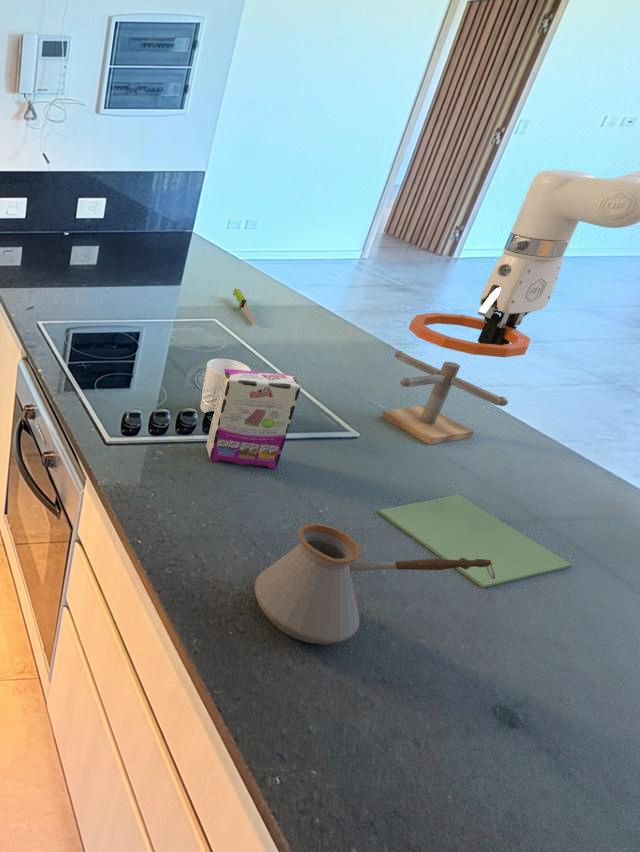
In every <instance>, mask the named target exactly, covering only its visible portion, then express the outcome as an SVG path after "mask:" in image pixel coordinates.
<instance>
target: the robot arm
mask: <svg viewBox="0 0 640 852" xmlns="http://www.w3.org/2000/svg"><path fill="white" fill-rule="evenodd" d="M579 222H582V223H586V224H590V225H593V226H598V227H602V228H609V229H621V228H626V227H631V226H633V225H636V224H638V223H640V170H637V171H632V172H629V173H626V174H621V175H619V176H616V177H595V176H594V175H593V174H591V173H589V172H583V171H579V170H578V171H577V170H569V169H568V170H566V169H548V170H543V171H540V172H537V174H536V175H535V176H533V178H532V180H531V182H530V185H529V186H528V189H527V192H526V194H525V196H524V198H523V201H522V204H521V206H520V209H519V211H518V213H517V216H516V218H515V220H514V223H513V226H512V228H511V230H510V232H509V235H508V237H507V239H506V242H505V245H504V247H503V250H502V251H503V252H502V254H501V256H500V257H499V259H498V260H497V262H496V264H495V266H494V267H493V269H492V271H491V273H490V275H489V277H488V279H487V280H486V283H485V285H484V287H483V289H482V292H481V295H480V299H479V305H480V306H481V307H480V308H479V310H478V311H477V315H480V316H481V317H483V319H484V323H485V325H484V327H483V329H482V330H481V332H480V334H479V336H478V339H477V343H483V344H494V345H505V344H511V342H509V341H508V340H507V339H505V338H504V337H503V335H504V333H505V330H506V328H504V326H508V327H510V328H513V329H516V330H517V328H518V326H520V325H521V324H522V322H523V319H524V317H526V316H527V315H528V314H530V313H532V312H538V311H541V310H543V309H545V308H546V307H547V306H548V304H549V301H550V299H551V297H552V294H553V292H554V290H555V287H556V285H557V282H558V278H559V277H560V272H561V269H562V266H563V260H564V254H565V252H566V250H567V248H568V246H569V244H570V241H571V239H572V237H573V235H574V233H575V231H576V228H577V226H578V223H579Z"/></svg>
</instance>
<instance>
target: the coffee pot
mask: <svg viewBox="0 0 640 852" xmlns="http://www.w3.org/2000/svg"><path fill="white" fill-rule="evenodd" d="M297 538H298V540H299V542H300V544H298V545H296V547H294V548H293V549H291V550H290V551H289V552H287V553H285V555H283V556H282V557H280V558H279V559H278V560H277V561H275V562H274V563H272V564H271V565H270V566H269V567H267V568H265V570H264V571H261V572H260V574H259V575H258V576H257V578H256V579H255V581H254V593H255V597H256V600H257V603H258V606H259V607H260V609H261V610H262V612H263V614H264V615H265V616H266V617H267V618H268V619H269V620H270V621H271V622H272V624H274V625H275V627H277V628H278V629H279V631H282V633H284V634H285V635H288V636H289V637H292V638H293V639H296V640H298V641H301V642H304V643H311V644H318V645H334V644H335V645H336V644H338V643H342V642H344V641H346V640H349V639H350V638H351V637H352V636H354V635H355V634H356V633H357V631H358V629H359V626H360V616H359V615H360V614H359V610H358V609H359V608H358V603H357V599H356V594H355V593H356V592H355V589H354V583H353V578H352V574H351V573H352V572H357V571H358V572H359V571H360V572H362V571H381V570H400V571H401V570H403V571H404V570H405V571H406V570H407V571H410V570H411V571H414V570H415V571H444V570H451V569H456V568H458V567H461V568H463V569H468V568H469V567H474V566H477V567H486V569H487V571H488V573H489V575H490V577H491V578H492V579H495V573H494V570H493V568H492V563H491V561H490V560H485V559H475V560H467V559H465V558H461V559H459V560H448V559H442V558H436V557H435V558H425V559H424V558H423V559H411V560H398V561H387V562H386V561H385V562H384V561H381V562H380V561H377V562H376V561H375V562H370V561H369V562H356V561H357V560H359V559H360V557H361V548H360V546H359V544H358V542H356V540H355V539H354V538H353V537H352V536H350V535H349V534H347V533H345V531H342V530H340V529H339V528H336V527H333V526H330V525H327V524H322V523H307V524H303V525H302V526H300V527H299V529H298V530H297ZM488 566H490V568H491V571H492V574H493V576H492V575H491V573H490V571H489V568H488Z"/></svg>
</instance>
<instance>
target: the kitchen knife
mask: <svg viewBox="0 0 640 852" xmlns="http://www.w3.org/2000/svg"><path fill="white" fill-rule="evenodd" d="M232 291H233V292H232V295H233V296H235V299H236V301H237V302H238V309H241V310H242V312H243V313H244V314H245V315H246V317H247V318H248V320H249V321H250V322H251V323H252V324H254V325H257V324H258V323H259V322H258V319H256V317H255V315H254V314H253V312H252V310H251V308H250V307H249V306H248V304H247V299H246V297H245V296H244V295H243V294H244V293H242V290H240V288H234V289H233V290H232Z"/></svg>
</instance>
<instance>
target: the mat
mask: <svg viewBox="0 0 640 852" xmlns="http://www.w3.org/2000/svg"><path fill="white" fill-rule="evenodd" d="M377 512H378V514H380V515H381V516H382V517H384V518H385V519H387V521H390V523H392V524H393V525H395V526H396V527H398V528H399V529H401V530H402V531H403V532H405V533H406V534H408V535H409V536H410V537H411V538H413V539H414V540H415V541H417V542H418V543H420V544H421V545H423V546H424V547H425V548H427V549H428V550H430V551H431V552H432V553H434V554H435V555H437V557H439V558H440V559H448V560H459V559H461V558H465V559H467V560H475V559H485V560H490V561H491V563H492V568H493V570H494V573H495V579H492V578H491V577H490V575H489V573H488V571H487V569H486V567H477V566H474V567H469V568H468V569H463V568H461V567H458V568H455V570H457V571H458V572H460V573H461V574H463V575H464V576H466V577H467V578H468V579H470V580H471V581H472V582H474V583H475V584H477V585H478V586H479V587H481V588H482V589H484V588H489V587H494V586H496V585H502V584H505V583H510V582H514V581H518V580H522V579H526V578H530V577H535V576H539V575H543V574H546V573H552V572H555V571H556V572H557V571H560V570H564V569H569V568H571V567H572V566H573V564H572V563H570V562H569V561H568V560H566V559H564V558H562V557H560V556H559V555H558V554H555V553H554V552H552V551H551V550H549V549H548V548H546V547H544V546H543V545H541V544H539V543H538V542H536V541H535V540H533V539H531V537H528V536H527V535H525V534H523V533H522V532H520V531H518V530H517V529H515V528H513V527H512V526H510V525H508V524H507V523H505V522H504V521H502V520H500V519H499V518H497V517H496V516H494V515H493V514H491V513H490V512H488V511H486V510H484V509H482V508H481V507H479V506H478V505H476V504H475V503H473V502H471V501H470V500H468V499H467V498H465V497H463V496H462V495H460V494H452V495H449V496H444V497H437V498H433V499H428V500H423V501H418V502H413V503H412V502H411V503H407V504H403V505H398V506H392V507H388V508H382V509H378V511H377ZM488 568H489V571H490V573H491V575H492V576H493V574H492V571H491V568H490V566H488Z"/></svg>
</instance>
